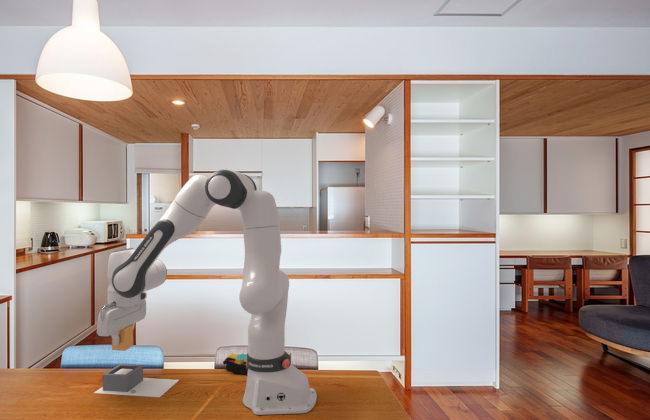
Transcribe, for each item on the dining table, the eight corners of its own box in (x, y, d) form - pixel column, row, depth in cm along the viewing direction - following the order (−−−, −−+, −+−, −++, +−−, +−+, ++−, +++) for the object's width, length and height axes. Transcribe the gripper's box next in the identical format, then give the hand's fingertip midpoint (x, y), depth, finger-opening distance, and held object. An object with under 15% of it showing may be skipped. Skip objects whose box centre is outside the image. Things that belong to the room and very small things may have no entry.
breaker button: (132, 379, 129) (132, 369, 129) (125, 385, 125) (125, 374, 125) (121, 379, 130) (121, 368, 130) (113, 384, 126) (113, 373, 126)
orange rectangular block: (133, 345, 129) (133, 324, 129) (124, 350, 125) (124, 328, 125) (120, 345, 130) (120, 324, 130) (112, 350, 125) (112, 328, 125)
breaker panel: (179, 382, 131) (179, 365, 131) (159, 400, 119) (159, 380, 119) (118, 379, 134) (118, 361, 134) (93, 396, 122) (93, 376, 122)
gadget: (255, 380, 136) (258, 365, 135) (221, 371, 138) (223, 356, 138) (262, 373, 142) (265, 358, 142) (229, 364, 145) (231, 349, 144)
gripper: (110, 307, 116) (110, 353, 117) (149, 292, 137) (149, 331, 137) (91, 306, 117) (91, 352, 117) (132, 291, 137) (132, 330, 138)
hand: (122, 341), depth 127 cm, fingers closed on orange rectangular block, 4 cm apart
